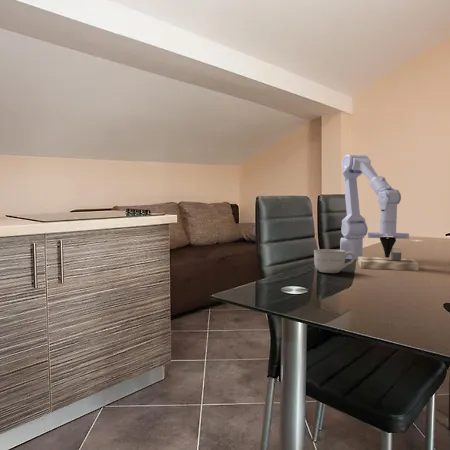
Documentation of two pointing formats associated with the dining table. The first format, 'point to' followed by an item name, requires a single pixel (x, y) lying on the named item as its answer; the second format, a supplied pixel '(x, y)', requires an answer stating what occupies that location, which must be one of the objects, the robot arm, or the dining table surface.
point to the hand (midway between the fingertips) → (387, 257)
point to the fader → (396, 254)
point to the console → (387, 263)
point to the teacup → (331, 260)
